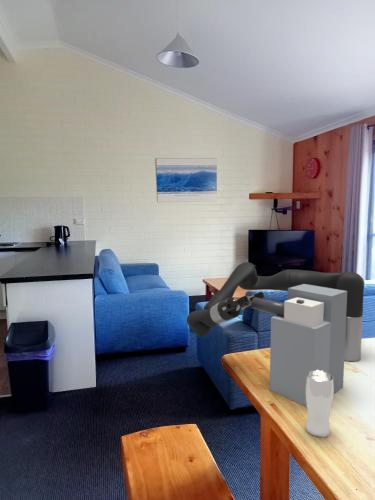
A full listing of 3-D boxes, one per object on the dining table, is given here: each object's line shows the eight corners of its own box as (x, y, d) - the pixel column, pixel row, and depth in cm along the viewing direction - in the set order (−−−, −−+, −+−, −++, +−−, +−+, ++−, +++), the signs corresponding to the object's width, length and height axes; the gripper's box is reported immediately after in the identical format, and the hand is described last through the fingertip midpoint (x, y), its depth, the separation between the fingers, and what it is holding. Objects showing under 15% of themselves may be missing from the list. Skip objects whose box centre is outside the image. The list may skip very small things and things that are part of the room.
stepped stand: (301, 371, 126) (304, 283, 123) (343, 387, 115) (347, 291, 111) (269, 389, 114) (271, 292, 110) (312, 409, 102) (316, 301, 99)
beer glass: (334, 440, 89) (336, 383, 87) (305, 436, 90) (307, 380, 88) (329, 423, 95) (331, 370, 94) (302, 420, 97) (304, 368, 95)
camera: (261, 306, 123) (261, 287, 122) (323, 322, 106) (324, 300, 105) (248, 310, 119) (248, 290, 118) (310, 327, 101) (311, 304, 101)
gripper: (241, 316, 134) (272, 302, 123) (214, 324, 125) (245, 310, 114) (233, 298, 136) (263, 283, 125) (207, 304, 127) (237, 289, 116)
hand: (255, 296), depth 119 cm, fingers open, 8 cm apart
